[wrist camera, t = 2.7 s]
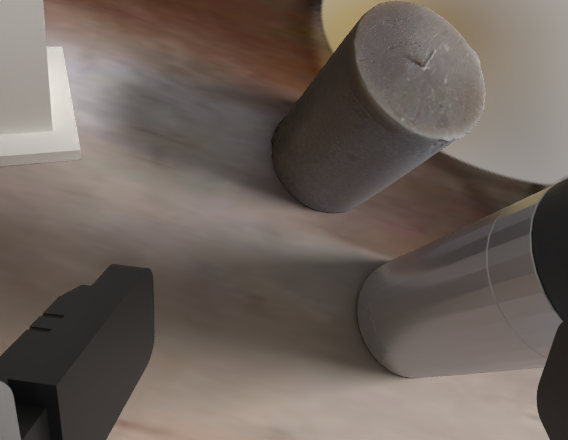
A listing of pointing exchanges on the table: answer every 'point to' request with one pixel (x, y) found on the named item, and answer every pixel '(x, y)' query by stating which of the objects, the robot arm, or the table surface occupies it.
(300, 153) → the pillar candle
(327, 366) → the table surface
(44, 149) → the stand
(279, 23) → the table surface
